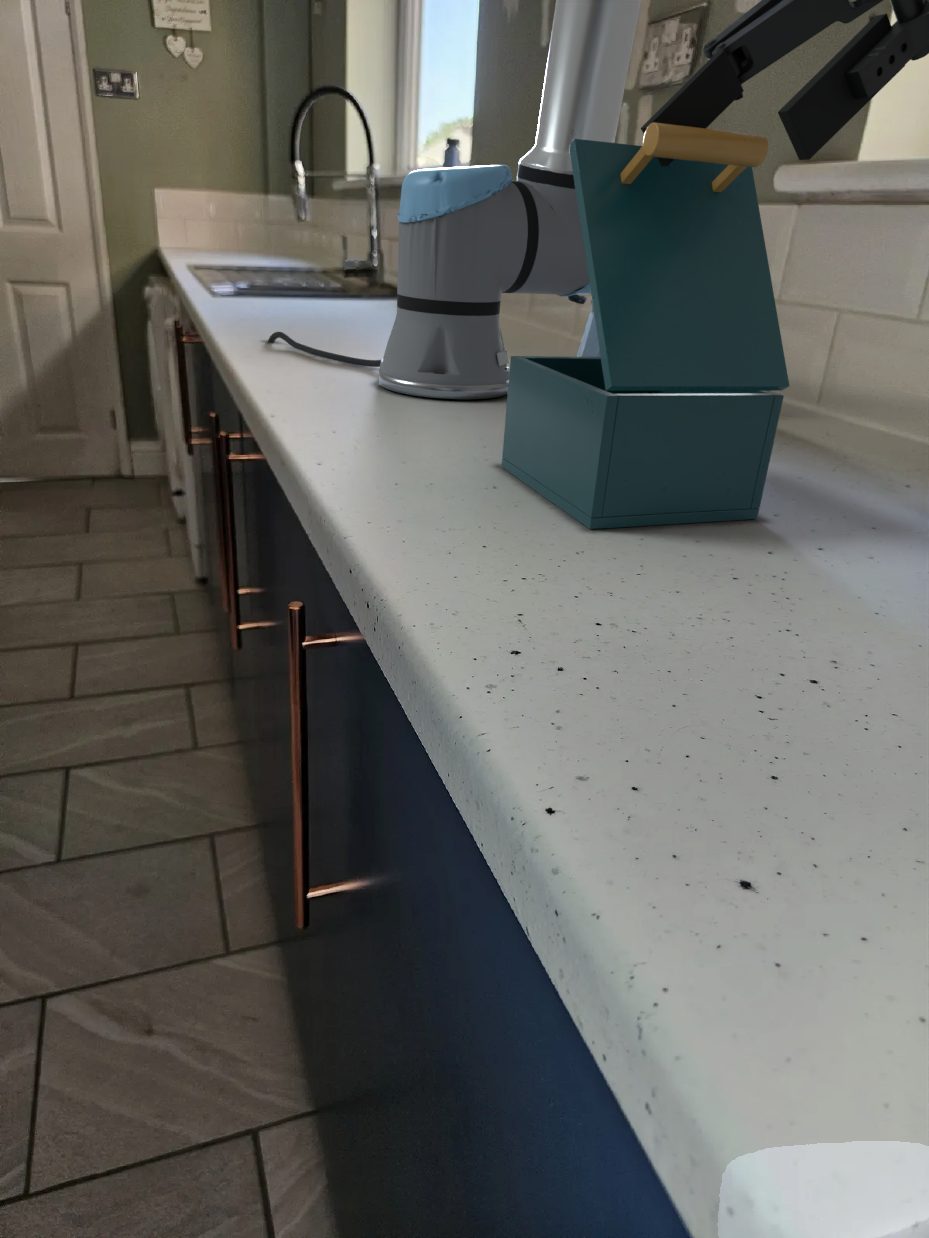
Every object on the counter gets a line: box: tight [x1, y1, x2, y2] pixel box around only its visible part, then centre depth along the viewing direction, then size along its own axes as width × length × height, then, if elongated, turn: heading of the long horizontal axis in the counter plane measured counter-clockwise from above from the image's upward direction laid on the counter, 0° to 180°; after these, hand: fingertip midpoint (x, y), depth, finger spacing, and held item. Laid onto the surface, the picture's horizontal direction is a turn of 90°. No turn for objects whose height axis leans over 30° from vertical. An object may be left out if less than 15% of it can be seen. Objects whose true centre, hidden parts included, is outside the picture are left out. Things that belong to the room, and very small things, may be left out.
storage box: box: [501, 355, 784, 530], centre depth 65 cm, size 16×14×9 cm
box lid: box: [569, 122, 790, 392], centre depth 55 cm, size 16×14×6 cm
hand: (715, 143), depth 49 cm, fingers open, 12 cm apart
